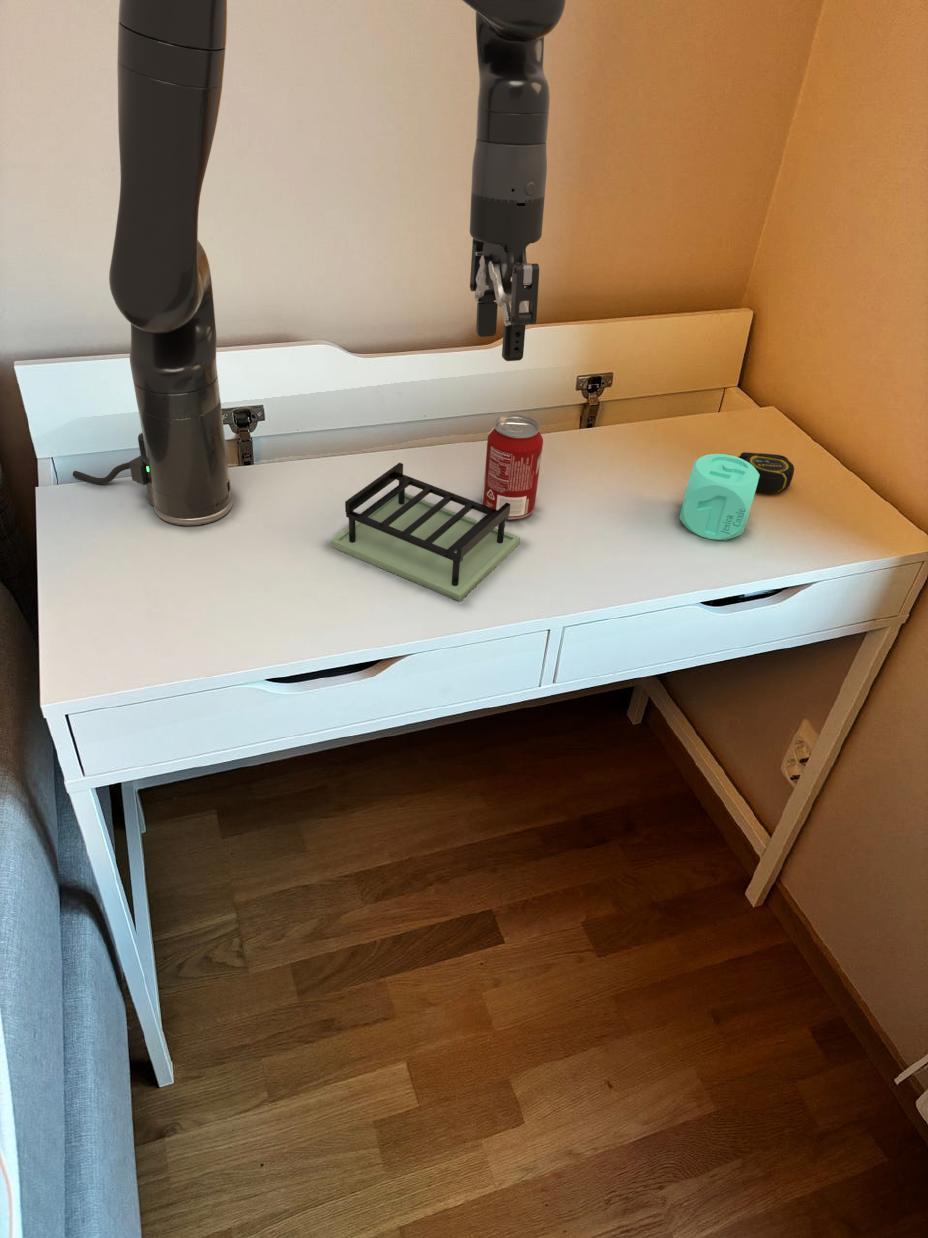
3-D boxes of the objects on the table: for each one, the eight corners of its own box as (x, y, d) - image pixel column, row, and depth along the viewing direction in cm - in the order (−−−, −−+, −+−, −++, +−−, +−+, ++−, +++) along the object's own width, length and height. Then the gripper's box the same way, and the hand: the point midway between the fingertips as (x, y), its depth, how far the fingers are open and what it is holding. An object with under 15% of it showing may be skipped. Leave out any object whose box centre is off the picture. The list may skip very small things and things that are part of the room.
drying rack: (345, 540, 112) (344, 501, 109) (398, 499, 120) (399, 462, 116) (458, 588, 106) (461, 548, 103) (506, 542, 114) (510, 503, 111)
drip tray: (331, 547, 112) (331, 540, 111) (397, 496, 122) (397, 489, 121) (459, 602, 105) (460, 595, 105) (519, 544, 115) (520, 537, 114)
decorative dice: (675, 531, 119) (689, 476, 114) (686, 500, 125) (699, 447, 120) (738, 547, 117) (755, 492, 112) (746, 515, 123) (763, 461, 118)
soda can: (529, 527, 118) (540, 442, 110) (476, 518, 119) (484, 433, 111) (537, 499, 123) (548, 416, 115) (486, 491, 124) (494, 408, 116)
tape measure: (782, 474, 132) (789, 451, 130) (792, 500, 127) (800, 476, 125) (733, 470, 132) (740, 446, 130) (742, 496, 127) (749, 472, 125)
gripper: (451, 177, 100) (447, 330, 109) (497, 203, 89) (488, 371, 98) (517, 177, 102) (507, 326, 111) (570, 202, 91) (554, 366, 100)
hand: (498, 347), depth 105 cm, fingers open, 8 cm apart
